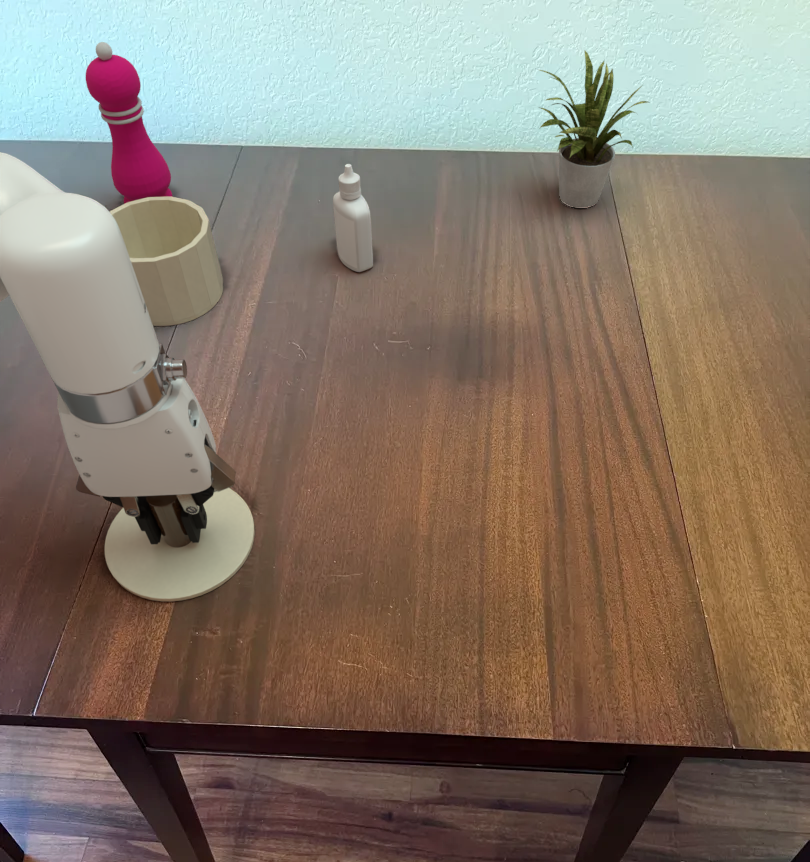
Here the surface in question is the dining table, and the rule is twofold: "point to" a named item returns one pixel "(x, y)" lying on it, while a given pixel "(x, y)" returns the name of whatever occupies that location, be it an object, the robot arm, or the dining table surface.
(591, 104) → the house plant
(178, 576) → the lid
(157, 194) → the pepper mill
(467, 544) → the dining table surface
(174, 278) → the pot
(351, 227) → the eye dropper bottle
